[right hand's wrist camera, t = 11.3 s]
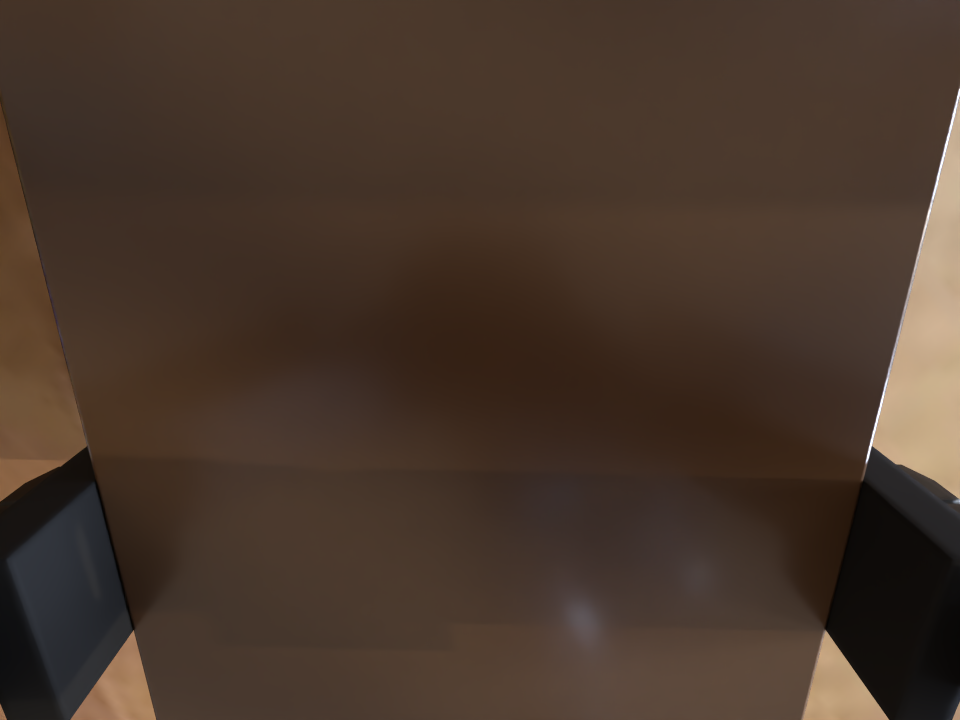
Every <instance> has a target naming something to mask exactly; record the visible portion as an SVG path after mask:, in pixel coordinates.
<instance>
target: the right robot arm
mask: <svg viewBox="0 0 960 720" xmlns="http://www.w3.org/2000/svg"><path fill="white" fill-rule="evenodd" d="M133 630H134V629H133V625H132V621H131V617H130V613H129V609H128V605H127V601H126V597H125V593H124V589H123V585H122V581H121V577H120V573H119V569H118V565H117V561H116V557H115V553H114V550H113V546H112V542H111V538H110V534H109V530H108V526H107V522H106V518H105V514H104V510H103V506H102V502H101V498H100V494H99V490H98V486H97V482H96V478H95V474H94V470H93V466H92V462H91V458H90V454H89V450H88V447H86V448H84V449H83V450H82V451H80V452H79V453H78V454H77V455H75V456H74V457H73V458H71V459H70V460H69V461H68V462H66V463H65V464H64V465H62V466H61V467H57V468H55V469H53V470H51V471H49V472H47V473H45V474H43V475H41V476H39V477H37V478H35V479H33V480H31V481H29V482H27V483H25V484H23V485H22V486H21V487H19V488H18V489H17V490H15V491H14V492H13V493H11V494H10V495H9V496H7V497H6V498H5V499H3V500H2V501H1V502H0V704H1V706H2V709H3V711H4V713H5V716H6V718H7V720H70V719H71V718H72V716H73V715H74V713H75V712H76V711H77V709H78V708H79V706H80V705H81V704H82V702H83V701H84V699H85V698H86V696H87V695H88V694H89V692H90V691H91V689H92V688H93V687H94V685H95V684H96V682H97V681H98V680H99V678H100V677H101V675H102V674H103V672H104V671H105V670H106V668H107V667H108V665H109V664H110V663H111V661H112V660H113V658H114V657H115V656H116V654H117V653H118V651H119V650H120V648H121V647H122V646H123V644H124V643H125V641H126V640H127V639H128V637H129V636H130V634H131V633H132V631H133ZM826 631H827V632H828V634H829V635H830V637H831V638H832V639H833V641H834V642H835V644H836V645H837V646H838V648H839V649H840V651H841V652H842V654H843V655H844V656H845V658H846V659H847V661H848V662H849V663H850V665H851V666H852V668H853V669H854V671H855V672H856V673H857V675H858V676H859V678H860V679H861V680H862V682H863V683H864V685H865V686H866V687H867V689H868V690H869V692H870V693H871V695H872V696H873V697H874V699H875V700H876V702H877V703H878V704H879V706H880V707H881V709H882V710H883V711H884V713H885V714H886V716H887V717H888V719H889V720H952V719H953V716H954V714H955V711H956V709H957V706H958V704H959V702H960V499H958V498H957V497H956V496H954V495H953V494H952V493H950V492H949V491H948V490H946V489H945V488H943V487H942V486H941V485H939V484H938V483H937V482H935V481H934V480H932V479H930V478H928V477H926V476H924V475H921V474H919V473H917V472H915V471H913V470H911V469H909V468H907V467H905V466H903V465H896V464H894V463H893V462H892V461H891V460H889V459H888V458H887V457H885V456H884V455H883V454H882V453H880V452H879V451H878V450H876V449H875V448H874V447H873V446H872V447H871V451H870V455H869V459H868V463H867V467H866V471H865V475H864V479H863V483H862V487H861V491H860V495H859V499H858V503H857V507H856V511H855V515H854V519H853V523H852V527H851V531H850V535H849V539H848V543H847V547H846V551H845V555H844V559H843V563H842V567H841V571H840V574H839V578H838V582H837V586H836V590H835V594H834V598H833V602H832V606H831V610H830V614H829V618H828V622H827V626H826Z"/></svg>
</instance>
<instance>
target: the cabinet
mask: <svg viewBox="0 0 960 720" xmlns="http://www.w3.org/2000/svg"><path fill="white" fill-rule="evenodd" d="M959 98H960V0H0V102H1V106H2V110H3V114H4V118H5V122H6V126H7V130H8V134H9V138H10V141H11V145H12V149H13V153H14V157H15V161H16V165H17V169H18V173H19V177H20V181H21V185H22V189H23V193H24V197H25V201H26V205H27V209H28V213H29V217H30V221H31V225H32V229H33V233H34V237H35V241H36V244H37V248H38V252H39V256H40V260H41V264H42V268H43V272H44V276H45V280H46V284H47V288H48V292H49V296H50V300H51V304H52V308H53V312H54V316H55V320H56V324H57V328H58V332H59V336H60V340H61V344H62V347H63V351H64V355H65V359H66V363H67V367H68V371H69V375H70V379H71V383H72V387H73V391H74V395H75V399H76V403H77V407H78V411H79V415H80V419H81V423H82V427H83V431H84V435H85V439H86V443H87V447H88V450H89V454H90V458H91V462H92V466H93V470H94V474H95V478H96V482H97V486H98V490H99V494H100V498H101V502H102V506H103V510H104V514H105V518H106V522H107V526H108V530H109V534H110V538H111V542H112V546H113V550H114V553H115V557H116V561H117V565H118V569H119V573H120V577H121V581H122V585H123V589H124V593H125V597H126V601H127V605H128V609H129V613H130V617H131V621H132V625H133V629H134V633H135V637H136V641H137V645H138V649H139V653H140V656H141V660H142V664H143V668H144V672H145V676H146V680H147V684H148V688H149V692H150V696H151V700H152V704H153V708H154V712H155V716H156V720H803V717H804V714H805V710H806V706H807V702H808V698H809V694H810V690H811V686H812V682H813V678H814V674H815V670H816V666H817V662H818V658H819V654H820V650H821V646H822V642H823V638H824V634H825V630H826V626H827V622H828V618H829V614H830V610H831V606H832V602H833V598H834V594H835V590H836V586H837V582H838V578H839V574H840V571H841V567H842V563H843V559H844V555H845V551H846V547H847V543H848V539H849V535H850V531H851V527H852V523H853V519H854V515H855V511H856V507H857V503H858V499H859V495H860V491H861V487H862V483H863V479H864V475H865V471H866V467H867V463H868V459H869V455H870V451H871V447H872V443H873V439H874V435H875V432H876V428H877V424H878V420H879V416H880V412H881V408H882V404H883V400H884V396H885V392H886V388H887V384H888V380H889V376H890V372H891V368H892V364H893V360H894V356H895V352H896V348H897V344H898V340H899V336H900V332H901V328H902V324H903V320H904V316H905V312H906V308H907V304H908V300H909V296H910V292H911V289H912V285H913V281H914V277H915V273H916V269H917V265H918V261H919V257H920V253H921V249H922V245H923V241H924V237H925V233H926V229H927V225H928V221H929V217H930V213H931V209H932V205H933V201H934V197H935V193H936V189H937V185H938V181H939V177H940V173H941V169H942V165H943V161H944V157H945V153H946V149H947V146H948V142H949V138H950V134H951V130H952V126H953V122H954V118H955V114H956V110H957V106H958V102H959Z"/></svg>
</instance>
